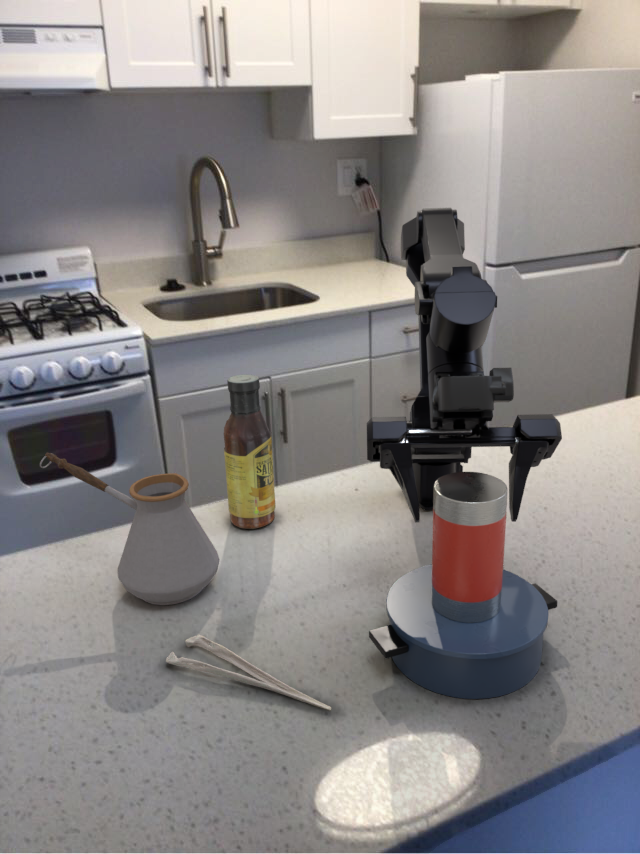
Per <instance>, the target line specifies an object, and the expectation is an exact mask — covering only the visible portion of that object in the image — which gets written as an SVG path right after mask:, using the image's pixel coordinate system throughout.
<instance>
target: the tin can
mask: <svg viewBox="0 0 640 854" xmlns="http://www.w3.org/2000/svg"><path fill="white" fill-rule="evenodd" d="M508 492H509V489H508V486H507V484H506V483H505V482H504V481H503V480H502V479H500V478H499V477H497V476H494V475H492V474H488V473H483V472H477V471H463V472H455V473H450V474H447V475H444V476H442V477H440V478H438V479H437V480H436V481H435V483H434V495H433V510H432V539H431V540H432V543H431V564H432V598H431V601H432V605H433V607H434V609H435V610H436V611H437V612H438V613H439V614H441V615H442V616H444V617H446V618H448V619H450V620H453V621H457V622H464V623H477V622H483V621H486V620H489V619H491V618H493V617H494V616H495V615H496V614H497V613H498V612H499V610H500V607H501V593H502V580H503V569H504V563H505V561H504V560H505V544H506V543H505V542H506V529H507V527H506V526H507V506H508Z"/></svg>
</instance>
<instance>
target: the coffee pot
mask: <svg viewBox="0 0 640 854" xmlns="http://www.w3.org/2000/svg"><path fill="white" fill-rule="evenodd" d="M45 459H47V460H48V461H49V462H48V463H47V464H46V465H44V466H42V464H43V462H44V460H45ZM52 463H55V464H56V465H57V467H58V469H64V470H65V471H67V472H68V473H69V474H71V475H72V476H73V477H74V478H75V479H77V480H80V481H82V482H83V483H85V484H87V485H90V486H92V487H94V488H95V489H98V490H100V491H101V492H104V493H107V494H108V495H110V496H112V497H114V499H116V500H118V501H119V502H122V503H123V504H124V505H126V506H128V507H130V508H131V509H133V510H134V511H135V513H134V515H133V519H132V522H131V525H130V528H129V531H128V535H127V538H126V540H125V544H124V547H123V550H122V553H121V556H120V560H119V563H118V566H117V579H118V580H119V582H120V584H121V585H122V586H123V588H124V589H125V590H126V592H128V593H130V594H131V595H133V596H134V597H136V598H138V599H141V600H142V601H144V602H146V603H147V604H152V605H158V606H168V605H169V606H171V605H177V604H180V603H183V602H186V601H189V600H190V599H191V600H192V598H194V597H196V596H197V595H199V594H200V593H201V592H202V591H203V590H204V589H205V588H206V587H207V586H208V585H209V584H210V583H211V582H212V581H213V579H214V578H215V576H216V574H217V572H218V569H219V565H220V556H219V553H218V550H217V548H216V547H215V545H214V544H213V543H212V541H211V540H210V537H209V536H208V535H207V533H206V531H205V530H204V528H203V526H202V525H201V524H200V522H199V520H198V519H197V517H196V515H195V514H194V512H193V510H192V509H191V508H190V505H189V504H188V503H187V501H186V499H185V495H186V492H187V490H188V489H189V486H190V484H189V481H188V479H187V478H186V477H184V476H183V475H181V474H178V473H177V472H174V473H173V472H172V473H171V472H170V473H158V474H152V475H149V476H145V477H142V478H140V479H138V480H137V481H134V482H133V483H132V484H131V485H130V487H129V490H128V492H129V495H126V494H125V493H123V492H121V491H119V490H117V489H115V488H113V487H112V486H110V485H109V484H108V483H107V482H104V481H103V480H101V479H100V478H98V477H97V476H95V475H94V474H92V473H91V472H89V471H88V470H85V468H83V467H80V466H78V465H75V464H72V463H70V462H68V461H67V459H66V458H60V457H58V455H56V454H54V453H52V452H46V453H45V454H44V456H43V457H42V459H41V460H40V461H39V468H41V469H46V468H47V467H49V466H50V465H51V464H52Z"/></svg>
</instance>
